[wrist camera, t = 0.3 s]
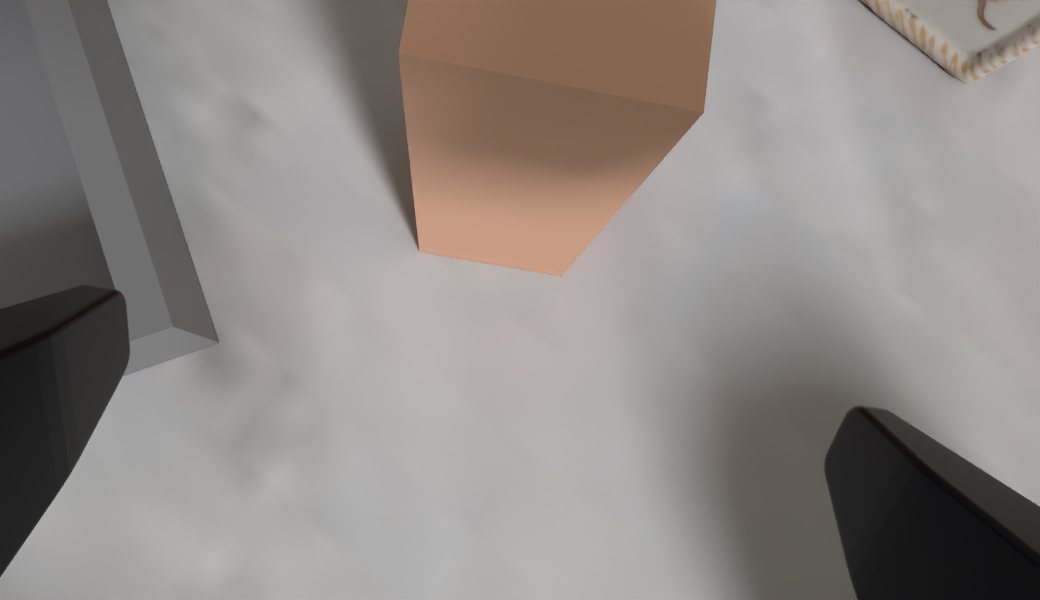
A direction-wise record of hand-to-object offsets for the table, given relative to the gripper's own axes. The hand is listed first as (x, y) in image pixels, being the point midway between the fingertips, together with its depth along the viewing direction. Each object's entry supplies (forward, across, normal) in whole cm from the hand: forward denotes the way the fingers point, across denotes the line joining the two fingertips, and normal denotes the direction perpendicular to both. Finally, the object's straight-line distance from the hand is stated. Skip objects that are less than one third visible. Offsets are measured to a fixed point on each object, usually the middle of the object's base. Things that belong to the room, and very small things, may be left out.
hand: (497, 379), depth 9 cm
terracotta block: (+14, 0, +3) cm, 15 cm away
